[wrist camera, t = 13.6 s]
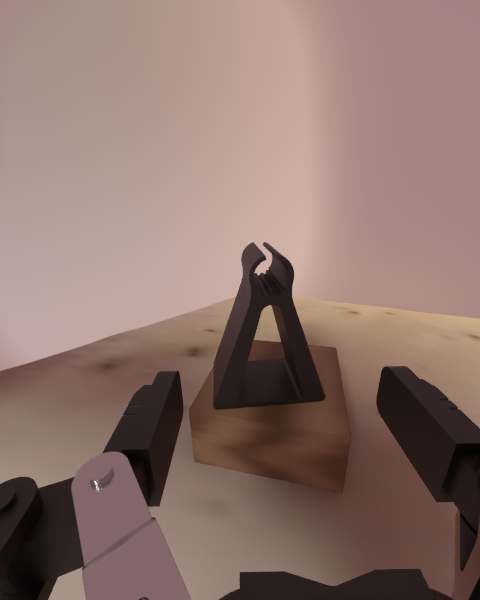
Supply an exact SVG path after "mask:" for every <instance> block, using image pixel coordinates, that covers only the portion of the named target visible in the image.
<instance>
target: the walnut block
mask: <svg viewBox="0 0 480 600" xmlns="http://www.w3.org/2000/svg"><path fill="white" fill-rule="evenodd" d="M308 347H309V350H310V353H311V356H312V359H313V362H314V365H315V368H316V370H317V373H318V376H319V379H320V382H321V385H322V388H323V391H324V394H325V399H324V400H323V401H319V402H307V403H294V404H282V405H272V404H268V406H257V407H245V408H232V409H220V410H216V409H214V407H213V385H214V367H213V368H212V370H211V372H210V374H209V375H208V377H207V379H206V381H205V382H204V384H203V386H202V388H201V389H200V391H199V393H198V395H197V397H196V398H195V400H194V402H193V404H192V405H191V407H190V409H189V417H190V425H191V433H192V442H193V450H194V459H195V462H198V463H203V464H208V465H212V466H217V467H222V468H227V469H231V470H236V471H241V472H245V473H250V474H255V475H259V476H264V477H269V478H274V479H278V480H283V481H288V482H292V483H297V484H302V485H306V486H311V487H316V488H321V489H325V490H330V491H335V492H339V493H342V491H343V485H344V479H345V472H346V466H347V460H348V453H349V447H350V441H351V434H350V428H349V422H348V416H347V410H346V404H345V398H344V392H343V386H342V380H341V374H340V368H339V363H338V357H337V351H336V348H333V347H323V346H312V345H308ZM284 356H285V353H284V350H283V346H282V343H281V342H270V341H260V340H253V344H252V347H251V351H250V355H249V358H248V361H254V360H268V359H282V358H284Z"/></svg>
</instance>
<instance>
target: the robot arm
mask: <svg viewBox="0 0 480 600" xmlns="http://www.w3.org/2000/svg"><path fill="white" fill-rule="evenodd" d="M377 408H378V411H379V414H380V416H381V417H382V419H383V420H384V422H385V423H386V425H387V426H388V428H389V430H390V431H391V433H392V434H393V436H394V437H395V439H396V440H397V442H398V443H399V445H400V446H401V448H402V450H403V451H404V453H405V454H406V456H407V457H408V459H409V460H410V462H411V463H412V465H413V466H414V468H415V470H416V471H417V473H418V474H419V476H420V477H421V479H422V480H423V482H424V483H425V485H426V486H427V488H428V489H429V491H430V493H431V494H432V496H433V497H434V499H435V500H436V502H454V503H455V505H456V506H457V508H458V510H457V513H456V522H455V581H454V589H453V593H452V598H451V597H449V596H447V595H445V594H443V593H440V592H438V591H436V590H433V589H431V588H429V587H428V585H427V583H426V581H425V579H424V577H423V575H422V573H421V570H420V569H391V570H374V571H371V572H369V573H366V574H364V575H362V576H359V577H357V578H354V579H352V580H350V581H347V582H345V583H342V584H340V585H337V586H329V585H325V584H322V583H319V582H316V581H313V580H309V579H306V578H303V577H300V576H297V575H293V574H290V573H287V572H284V571H283V572H240V589H237V590H235V591H233V592H230V593H229V594H227V595H225V596H224V597H222V598H220V599H219V600H480V428H479V427H478V426H477V425H475V424H474V423H473V422H472V421H471V420H470V419H469V418H468V417H467V416H466V415H465V414H464V413H463V412H462V411H461V410H458V407H457V406H456V405H455V404H453V403H452V402H451V401H449V400H448V398H447V397H446V396H445V395H444V394H443V393H442V392H441V391H440V390H439V389H438V388H436V387H435V386H433V385H431V384H430V383H428V382H426V381H425V380H423V379H419V378H418V377H417V376H416V375H415V374H414V373H413V372H412V371H411V370H410V369H409V368H408V367H406V366H390V367H384V368H383V369H382V372H381V377H380V383H379V388H378V393H377ZM182 417H183V397H182V389H181V381H180V374H179V372H178V371H159V372H158V374H157V376H156V378H155V380H154V382H153V384H152V385H144V386H143V387H142V388H141V389H139V390H138V391H137V392H136V393H135V394H134V395H133V397H132V399H131V401H130V403H129V405H128V407H127V408H126V410H125V412H124V414H123V417H122V418H121V420H120V421H119V423H118V425H117V427H116V429H115V431H114V433H113V434H112V436H111V438H110V440H109V442H108V444H107V446H106V447H105V449H104V451H103V453H102V454H100V455H98V456H96V457H94V458H92V459H91V460H89V461H88V462H87V463H85V464H84V465H83V466H82V467H81V468H80V469H79V471H78V472H77V473H76V475H75V477H73V478H70V479H67V480H64V481H61V482H58V483H54V484H51V485H48V486H45V487H41V488H38V487H37V485H36V482H35V481H34V480H33V479H31V478H29V477H18V478H14V479H11V480H8V481H6V482H3V483H1V484H0V600H48V598H49V596H50V594H51V592H52V589H53V587H54V585H55V582H56V580H57V578H58V577H59V576H62V575H64V574H67V573H69V572H71V571H74V570H76V569H79V568H81V567H83V568H82V575H83V583H84V590H85V596H86V600H191V598H190V596H189V593H188V591H187V589H186V586H185V584H184V582H183V579H182V577H181V575H180V572H179V570H178V568H177V565H176V563H175V561H174V558H173V556H172V554H171V551H170V549H169V547H168V544H167V542H166V540H165V537H164V535H163V533H162V530H161V528H160V526H159V524H158V522H157V520H156V518H155V517H154V518H153V517H152V515H151V513H150V511H149V508H148V507H153V506H160V502H161V498H162V494H163V490H164V487H165V483H166V479H167V475H168V471H169V467H170V464H171V460H172V456H173V452H174V448H175V444H176V441H177V437H178V433H179V429H180V425H181V421H182Z"/></svg>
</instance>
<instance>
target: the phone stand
mask: <svg viewBox="0 0 480 600" xmlns="http://www.w3.org/2000/svg"><path fill="white" fill-rule="evenodd" d="M263 245H264V246H265V247H266V248H267V249H268V250H269V251H270V252H271V253H272V258H273V259H272V264H271V266H270V267H269V270H266V274H263V273H261V274H260V275H259V276H258V275H257V273H255V274H254V272H255V269H256V268H257V266H258V265H259V264H260V263H261V262H263V261H264V260H266V257H265V255H264V254H263V253H262V252H261V250H260V249H259V248H258V247H257V246H256V245H255V244H254V243H251V244H249V245H248V246H247V247H246V248H245V249H244V251H243V253H242V259H241V260H242V266H243V278H242V282H241V284H240V288H239V290H238V293H237V296H236V299H235V302H234V305H233V308H232V311H231V314H230V317H229V320H228V323H227V325H226V328H225V331H224V334H223V337H222V340H221V343H220V346H219V349H218V352H217V355H216V358H215V361H214V385H213V407H214V409H216V410H220V409H232V408H245V407H257V406H268V404H272V405H282V404H294V403H307V402H319V401H323V400H324V399H325V394H324V391H323V388H322V385H321V382H320V379H319V376H318V373H317V370H316V368H315V365H314V362H313V359H312V356H311V353H310V350H309V347H308V344H307V341H306V338H305V335H304V332H303V330H302V327H301V324H300V321H299V318H298V315H297V312H296V309H295V306H294V303H293V299H292V285H293V280H294V270H293V267H292V265H291V263H290V262H289V261H288V260H287V259H286V258H285V257H284V256H282V255H281V254H280V253H279V252H278V251H276V250H275V249H274V248H273V247H272V246H270V245H269V244H268V243H266V242H264V243H263ZM269 305H272V308H273V312H274V316H275V320H276V323H277V327H278V331H279V335H280V338H281V342H282V346H283V350H284V353H285V356H284V358H282V359H268V360H254V361H248V358H249V355H250V351H251V347H252V344H253V340H254V337H255V333H256V329H257V326H258V322H259V318H260V315H261V312H262V310H263V309H264V308H265V307H266V306H269Z"/></svg>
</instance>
